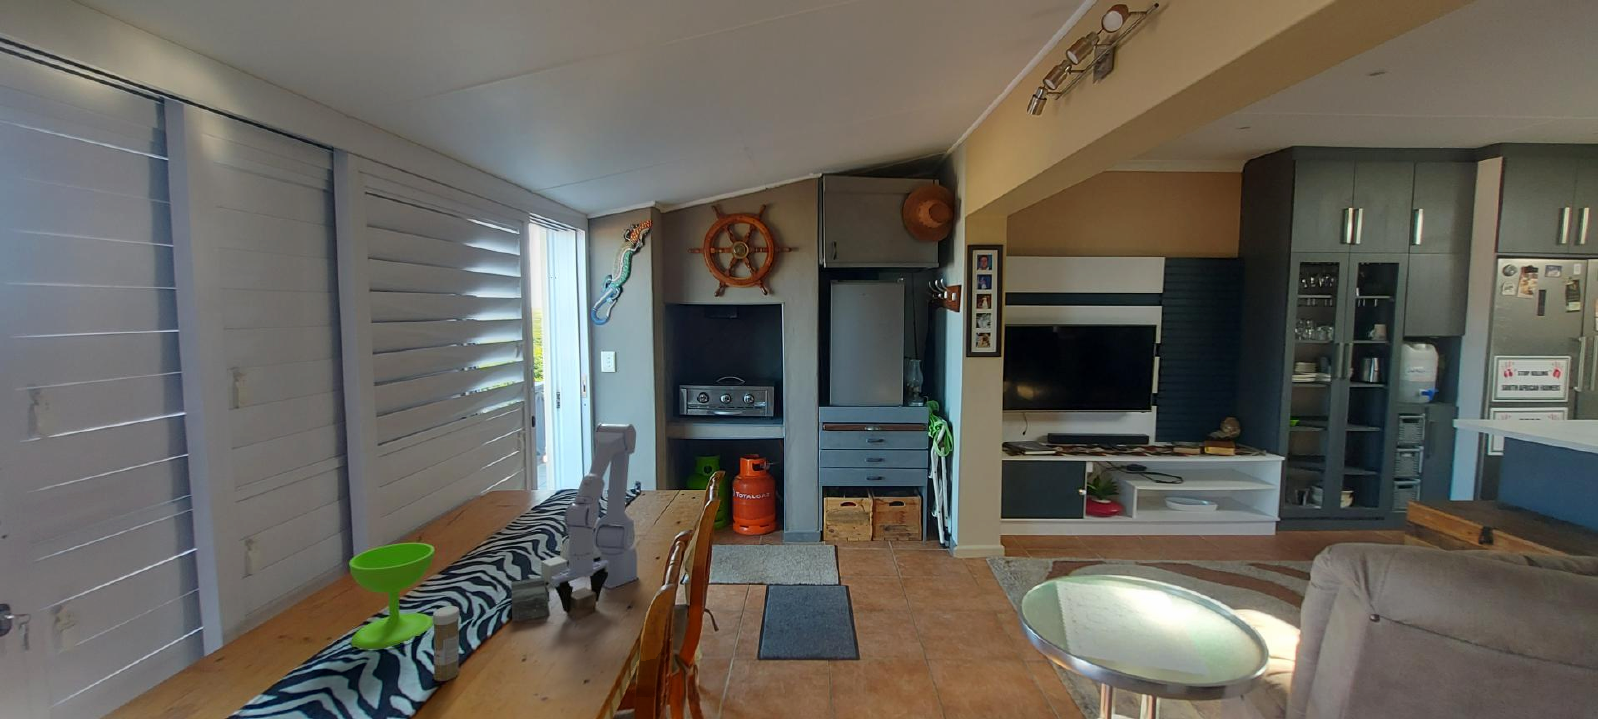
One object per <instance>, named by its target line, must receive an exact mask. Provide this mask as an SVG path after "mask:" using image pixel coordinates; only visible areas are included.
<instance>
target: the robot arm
mask: <svg viewBox="0 0 1598 719" xmlns="http://www.w3.org/2000/svg"><path fill="white" fill-rule="evenodd" d="M636 440H637V431H636V429H635V426H634V424H632V423H628V424H627V423H626V424H624V423H604V422H600V423H598V424H597V425H596V426H595V429H594V434H593V441H594V446H595V451H594V454H593V459H592V462H591V465H590V470H589V473H588V474H587V475H585V476H584V477H582V480H581V482H580V485H579V487H578V489H577V492H576V496H575V498H574V500H573V502H572V503H571V504H569V505H568V506H567V507H566V508H565V512H564V516H563V522H564V525H565V526H566V534H567V535H568V539H569V560H568V568H567V570H565V571H564V572H562V573H560V574H558V575H556V576H553V577H551V584H550V585H551V586H552V587H553V588H554V590H556V593H557V594H558V597H559V599H560V602H561V606H562V611H564V612H565V613H566V612H567V613H569V612H570V610H571V595H572V592H573V591H574V590H573V589H574V587H573V586H572V585H571V584H570V582H571V581H574V580H577V579H580V578H584V577H585V578H588V577H589V579H590V581H589V582H590V590H591V591H593V592H595V593H596V603H598V602H599V601H600V596H601V592H602V589H603V587H605V588H607V589H609V590H611V589H613V588H617V587H619V586H622V585H625V584H627V583H630V582H632V581H635V580H638V579H639V578H640V577H639V576H638V554H637V550H636V548H635V547H634V546H633V545H634V541H635V538H636V534H635V523H634V520H633V519H632V518H631V517H629V516H628V515H627V514H626V513H625V512H626V500H627V491H628V490H627V489H628V487H627V486H628V475H629V467H630V466H629V463H630V455H632V454H634V453H635V452H636V451H635V450H636ZM609 466H610V467H609ZM608 468H609V477H608V490H607V500H606V512H605V515H603V516H601V518H599V513H600V512H599V511H600V504H599V503H600V499H601V496H602V495H603V491H604V488H605V485H606V482H605V481H604V479H603V478H604V476H605V475H606V471H607V469H608ZM598 519H599V520H598ZM597 520H598V521H597ZM596 522H597V526H596V530H595V533H594V526H595V524H596ZM594 544H595V546H596V547H597V548H598V551H600V552H601V559H600V560H599V561H597V562H594ZM637 578H638V579H637ZM629 581H630V582H629ZM616 586H617V587H616ZM567 613H566V614H567Z"/></svg>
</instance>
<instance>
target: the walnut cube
mask: <svg viewBox="0 0 1598 719" xmlns="http://www.w3.org/2000/svg"><path fill="white" fill-rule="evenodd" d="M565 613H566V614H567V615H569V616H570V617H571V618H574V619H575V620H577V621H578V620H580V619H583V618H586V617H588V616H591V615H593V614H597V602H596V593H595V592H593V591H591V589H589V588H587V587H582V588H579V589H576V590H572V595H571V610H570V612H569V613H567V612H565Z"/></svg>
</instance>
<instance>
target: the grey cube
mask: <svg viewBox="0 0 1598 719" xmlns="http://www.w3.org/2000/svg"><path fill="white" fill-rule="evenodd" d="M567 569H568V562H567V560H564V559H562V558H560V556H554V557H552V558H551V557H550V558H547V559H545V560H541V561H540V578H544V582H545V583H546V582H547V583H548V584H550V585H551V577H553V576H556V575H558V574H560V573H562V572H564V571H565V570H567Z"/></svg>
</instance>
